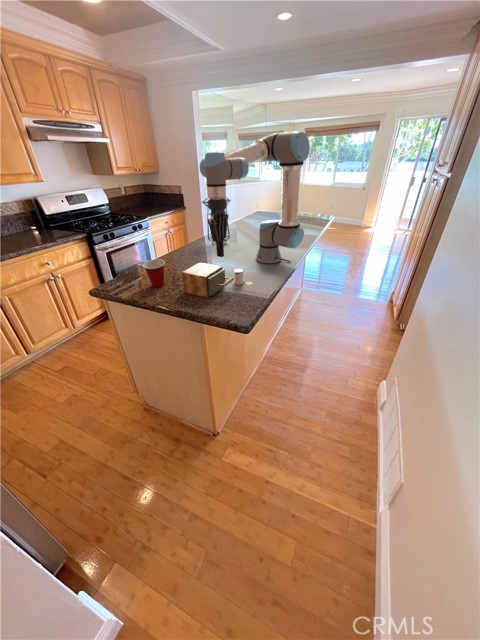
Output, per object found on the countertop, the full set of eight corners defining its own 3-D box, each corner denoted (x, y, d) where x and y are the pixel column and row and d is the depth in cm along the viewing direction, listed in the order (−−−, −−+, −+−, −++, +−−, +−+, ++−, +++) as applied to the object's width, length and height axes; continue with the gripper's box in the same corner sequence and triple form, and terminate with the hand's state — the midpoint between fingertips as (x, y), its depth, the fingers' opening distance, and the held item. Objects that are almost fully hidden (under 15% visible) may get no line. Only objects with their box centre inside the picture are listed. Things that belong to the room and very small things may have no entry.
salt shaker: (243, 281, 139) (243, 269, 136) (242, 284, 135) (242, 272, 132) (235, 281, 140) (235, 268, 136) (234, 284, 136) (233, 271, 132)
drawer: (236, 287, 131) (235, 271, 126) (222, 299, 121) (221, 281, 116) (205, 281, 138) (203, 265, 134) (189, 291, 129) (187, 274, 124)
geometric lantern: (222, 248, 188) (219, 194, 170) (204, 246, 195) (199, 193, 176) (233, 243, 200) (232, 191, 181) (216, 240, 206) (212, 190, 188)
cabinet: (223, 286, 135) (222, 266, 129) (207, 297, 124) (205, 276, 119) (201, 281, 140) (199, 262, 135) (184, 292, 130) (181, 272, 124)
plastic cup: (142, 288, 135) (137, 265, 128) (155, 279, 143) (151, 258, 137) (160, 291, 131) (156, 267, 125) (173, 282, 140) (169, 260, 134)
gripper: (218, 195, 112) (221, 251, 124) (199, 199, 102) (205, 259, 115) (233, 196, 109) (235, 253, 121) (216, 200, 99) (219, 262, 112)
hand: (220, 256), depth 118 cm, fingers closed
